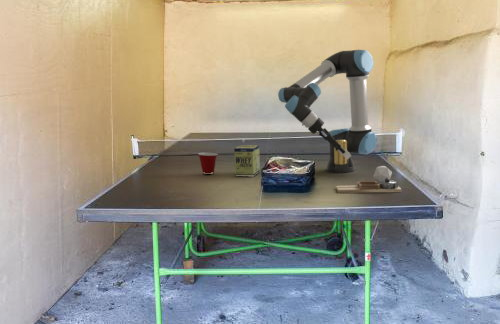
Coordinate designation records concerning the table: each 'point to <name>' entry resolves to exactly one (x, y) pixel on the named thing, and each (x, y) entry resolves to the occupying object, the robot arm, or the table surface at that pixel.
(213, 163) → the plastic cup
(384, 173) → the pale rock
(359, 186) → the gear board
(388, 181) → the gear
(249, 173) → the protein box
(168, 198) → the table surface
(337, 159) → the brass gear
